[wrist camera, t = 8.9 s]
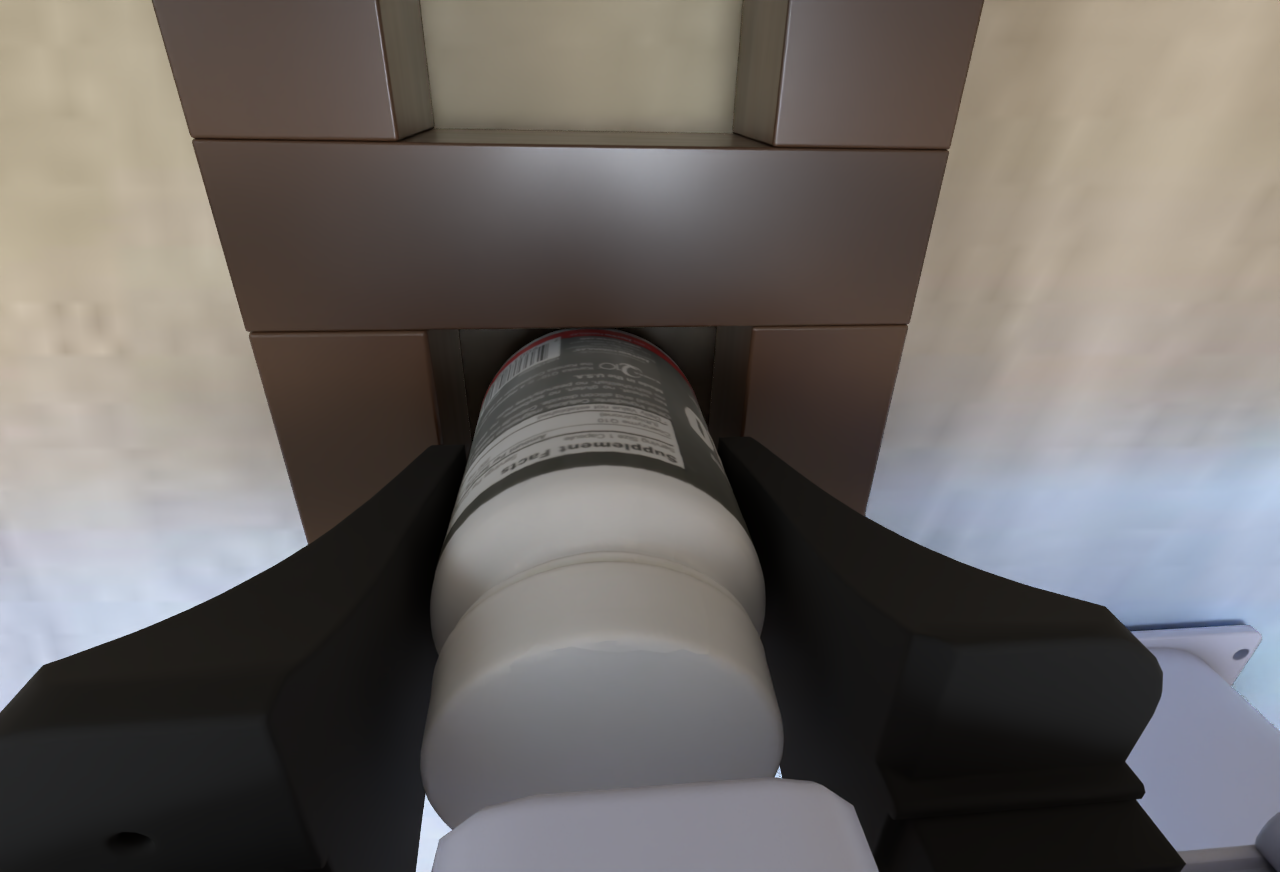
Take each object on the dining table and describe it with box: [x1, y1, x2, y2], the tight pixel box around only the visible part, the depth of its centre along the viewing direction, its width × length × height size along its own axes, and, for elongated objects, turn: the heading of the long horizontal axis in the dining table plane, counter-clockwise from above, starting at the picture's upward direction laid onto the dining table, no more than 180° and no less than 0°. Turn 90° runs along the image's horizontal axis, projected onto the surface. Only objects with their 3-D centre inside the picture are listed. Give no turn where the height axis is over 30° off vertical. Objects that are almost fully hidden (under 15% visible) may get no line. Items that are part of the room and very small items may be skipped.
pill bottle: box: [420, 328, 784, 830], centre depth 11 cm, size 5×5×8 cm
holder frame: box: [152, 0, 984, 545], centre depth 12 cm, size 21×12×3 cm, turn 179°
